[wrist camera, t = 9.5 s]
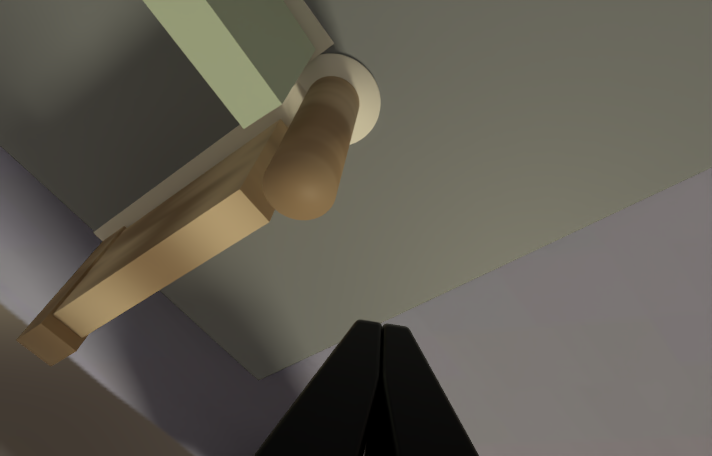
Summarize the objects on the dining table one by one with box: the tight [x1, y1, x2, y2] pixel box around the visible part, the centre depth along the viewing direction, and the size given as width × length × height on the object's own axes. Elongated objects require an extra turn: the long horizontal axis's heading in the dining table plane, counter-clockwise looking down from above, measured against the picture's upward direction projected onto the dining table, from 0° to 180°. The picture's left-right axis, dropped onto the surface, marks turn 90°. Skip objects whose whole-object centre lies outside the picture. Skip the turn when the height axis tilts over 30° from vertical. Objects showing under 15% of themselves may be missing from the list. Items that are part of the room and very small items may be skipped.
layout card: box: [0, 0, 712, 381], centre depth 18 cm, size 23×21×1 cm
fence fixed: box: [16, 76, 359, 366], centre depth 18 cm, size 12×2×6 cm, turn 126°
